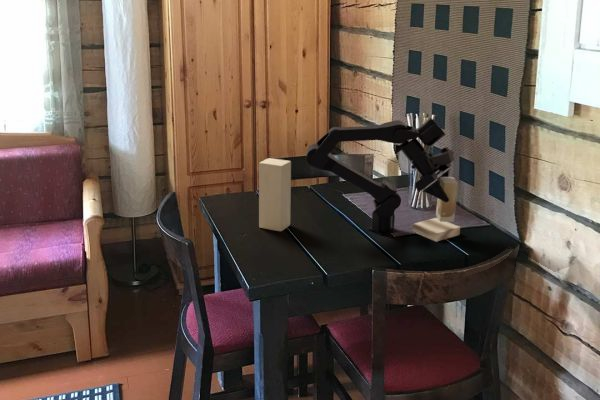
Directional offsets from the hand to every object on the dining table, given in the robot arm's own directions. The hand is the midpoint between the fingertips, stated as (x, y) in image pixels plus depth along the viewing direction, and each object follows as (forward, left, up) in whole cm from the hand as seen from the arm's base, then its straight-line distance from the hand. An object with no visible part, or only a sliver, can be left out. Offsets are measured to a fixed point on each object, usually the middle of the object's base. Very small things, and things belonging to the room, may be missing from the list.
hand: (451, 197), depth 203 cm
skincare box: (-1, +1, -7) cm, 7 cm away
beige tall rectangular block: (-37, +38, -13) cm, 55 cm away
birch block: (0, +5, -13) cm, 14 cm away
